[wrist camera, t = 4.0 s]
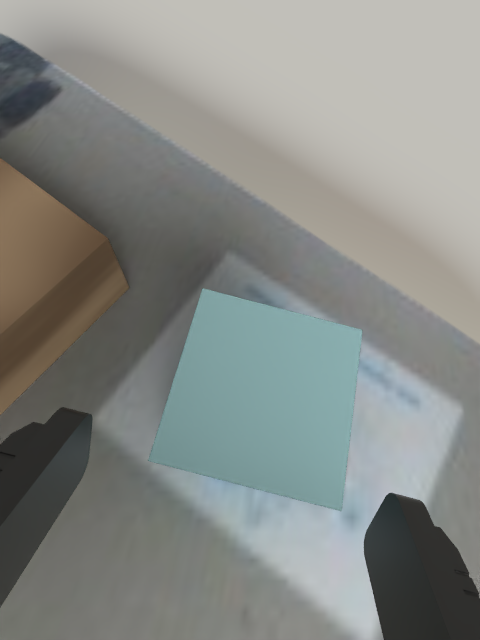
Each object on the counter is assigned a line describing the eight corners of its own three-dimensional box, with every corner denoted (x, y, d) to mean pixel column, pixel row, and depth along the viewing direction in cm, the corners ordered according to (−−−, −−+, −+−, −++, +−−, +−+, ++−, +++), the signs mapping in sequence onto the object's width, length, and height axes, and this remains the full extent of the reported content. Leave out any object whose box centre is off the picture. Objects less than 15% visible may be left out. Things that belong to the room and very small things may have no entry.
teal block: (288, 390, 18) (362, 329, 10) (271, 485, 16) (341, 511, 8) (202, 367, 18) (202, 288, 10) (176, 460, 16) (147, 461, 8)
